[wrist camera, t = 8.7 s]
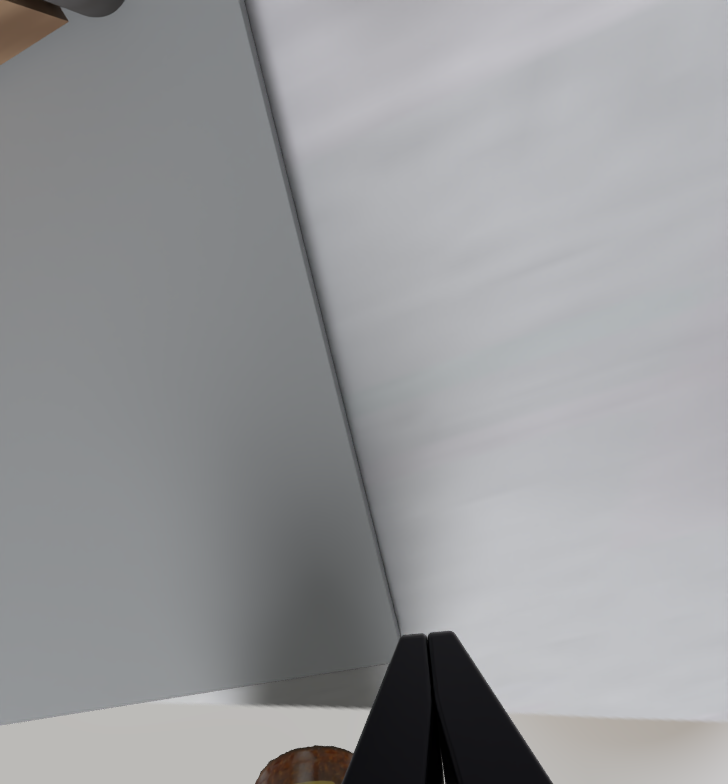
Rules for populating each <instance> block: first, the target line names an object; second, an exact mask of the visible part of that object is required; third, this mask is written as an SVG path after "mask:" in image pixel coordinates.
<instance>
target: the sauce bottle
mask: <svg viewBox="0 0 728 784" xmlns="http://www.w3.org/2000/svg"><path fill="white" fill-rule="evenodd" d="M353 754H354V753H351V752H349V751H347V750H345V749H341V748H337V747H334V746H316V745H315V746H313V747H306V748H297V749H294V750H291V751H289V752H286V753H285V754H282V755H280V756H279V757H278V758H276V759H273V760H271V761H270V762H269V763H268V764H267V766H266V767H265V768H264V769H263V770H262V771H261V773H260V776H259V778H258V779H257V781H256V783H255V784H342V781H343V779H344V776H345V774H346V771H347V769H348V766H349V764H350V761H351V759H352V756H353Z"/></svg>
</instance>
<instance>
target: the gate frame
mask: <svg viewBox="0 0 728 784" xmlns="http://www.w3.org/2000/svg"><path fill="white" fill-rule="evenodd" d="M60 8H61V9H62V11H63V13H64V14H65V16H66V18H67V19H68V21H69V22H68V23H66V24H65V25H63V26H61V27H60V28H58V29H57V30H55V31H53V32H52V33H50V34H49V35H47V36H46V37H44V38H42V39H41V40H39V41H38V42H36V43H35V44H33V45H31V46H30V47H28V48H27V49H25V50H24V51H22V52H20V53H19V54H17V55H16V56H14V57H13V58H11V59H9V60H8V61H6V62H5V63H3V64H2V65H0V725H6V724H12V723H18V722H25V721H31V720H37V719H43V718H50V717H56V716H62V715H69V714H75V713H81V712H87V711H94V710H100V709H106V708H113V707H119V706H125V705H131V704H138V703H144V702H150V701H157V700H163V699H169V698H175V697H182V696H188V695H194V694H200V693H207V692H213V691H219V690H225V689H232V688H238V687H244V686H251V685H257V684H263V683H269V682H276V681H282V680H288V679H294V678H301V677H307V676H313V675H320V674H326V673H332V672H338V671H345V670H351V669H357V668H363V667H370V666H376V665H382V664H389V663H390V661H391V659H392V656H393V654H394V651H395V649H396V646H397V644H398V641H399V639H400V638H401V636H400V632H399V628H398V624H397V620H396V616H395V612H394V608H393V604H392V600H391V596H390V592H389V588H388V584H387V580H386V575H385V571H384V567H383V563H382V559H381V555H380V551H379V547H378V543H377V539H376V535H375V531H374V527H373V523H372V519H371V515H370V510H369V506H368V502H367V498H366V494H365V490H364V486H363V482H362V478H361V474H360V470H359V466H358V462H357V458H356V454H355V450H354V445H353V441H352V437H351V433H350V429H349V425H348V421H347V417H346V413H345V409H344V405H343V401H342V397H341V393H340V389H339V385H338V381H337V376H336V372H335V368H334V364H333V360H332V356H331V352H330V348H329V344H328V340H327V336H326V332H325V328H324V324H323V320H322V316H321V311H320V307H319V303H318V299H317V295H316V291H315V287H314V283H313V279H312V275H311V271H310V267H309V263H308V259H307V255H306V251H305V246H304V242H303V238H302V234H301V230H300V226H299V222H298V218H297V214H296V210H295V206H294V202H293V198H292V194H291V190H290V186H289V181H288V177H287V173H286V169H285V165H284V161H283V157H282V153H281V149H280V145H279V141H278V137H277V133H276V129H275V125H274V121H273V116H272V112H271V108H270V104H269V100H268V96H267V92H266V88H265V84H264V80H263V76H262V72H261V68H260V64H259V60H258V56H257V52H256V47H255V43H254V39H253V35H252V31H251V27H250V23H249V19H248V15H247V11H246V7H245V3H244V0H125V1H124V2H123V4H122V5H121V6H120V7H119V8H118V10H116V11H115V12H114V13H112V14H110V15H108V16H105V17H88V16H84V15H81V14H79V13H76V12H74V11H71V10H68V9H66V8H63V7H60Z"/></svg>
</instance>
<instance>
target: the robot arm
mask: <svg viewBox="0 0 728 784" xmlns="http://www.w3.org/2000/svg"><path fill="white" fill-rule="evenodd" d="M442 763H443V765H442ZM443 770H444V775H443ZM444 777H445V784H553V783H552V781H551V780H550V778H549V777H548V775H547V774H546V772H545V771H544V769H543V768H542V766H541V765H540V763H539V761H538V760H537V759H536V757H535V755H534V754H533V752H532V751H531V749H530V748H529V746H528V745H527V743H526V742H525V740H524V739H523V737H522V735H521V734H520V732H519V731H518V729H517V728H516V726H515V725H514V723H513V722H512V720H511V719H510V717H509V715H508V714H507V712H506V711H505V709H504V708H503V706H502V705H501V703H500V702H499V700H498V699H497V697H496V696H495V694H494V693H493V691H492V689H491V688H490V686H489V685H488V683H487V682H486V680H485V679H484V677H483V676H482V674H481V673H480V671H479V670H478V668H477V666H476V665H475V663H474V662H473V660H472V659H471V657H470V656H469V654H468V653H467V651H466V650H465V648H464V647H463V645H462V643H461V642H460V640H459V639H458V637H457V636H456V634H455V633H454V632H452V631H442V632H432V633H430V634H429V635H428V639H427V636H426V635H425V634H423V633H421V634H410V635H403V636H402V637H401V638H400V639H399V641H398V644H397V646H396V649H395V651H394V654H393V656H392V659H391V661H390V664H389V666H388V669H387V671H386V674H385V676H384V679H383V681H382V684H381V686H380V689H379V691H378V694H377V696H376V699H375V701H374V704H373V706H372V709H371V711H370V714H369V716H368V719H367V721H366V724H365V726H364V729H363V731H362V734H361V736H360V739H359V741H358V744H357V746H356V749H355V751H354V754H353V756H352V759H351V761H350V764H349V766H348V769H347V771H346V774H345V776H344V779H343V781H342V784H444Z"/></svg>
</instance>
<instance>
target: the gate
mask: <svg viewBox="0 0 728 784" xmlns="http://www.w3.org/2000/svg"><path fill="white" fill-rule="evenodd" d="M124 1H125V0H0V65H2V64H3V63H5V62H6V61H8V60H9V59H11V58H13V57H14V56H16V55H17V54H19V53H20V52H22V51H24V50H25V49H27V48H28V47H30V46H31V45H33V44H35V43H36V42H38V41H39V40H41V39H42V38H44V37H46V36H47V35H49V34H50V33H52V32H53V31H55V30H57V29H58V28H60V27H61V26H63V25H65V24H66V23H68V22H69V21H68V19H67V18H66V16H65V14H64V13H63V11H62V9H61V8H60V7H63V8H66V9H68V10H71V11H74V12H76V13H79V14H81V15H84V16H88V17H105V16H108V15H110V14H112V13H114V12H115V11H116V10H118V8H119V7H120V6H121V5H122V4H123V2H124Z"/></svg>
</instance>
